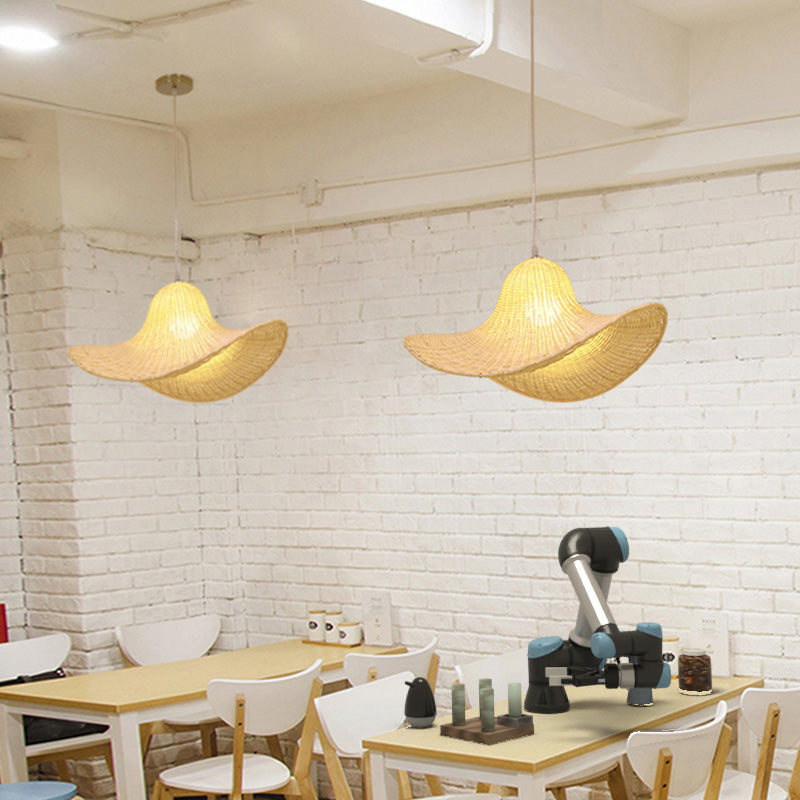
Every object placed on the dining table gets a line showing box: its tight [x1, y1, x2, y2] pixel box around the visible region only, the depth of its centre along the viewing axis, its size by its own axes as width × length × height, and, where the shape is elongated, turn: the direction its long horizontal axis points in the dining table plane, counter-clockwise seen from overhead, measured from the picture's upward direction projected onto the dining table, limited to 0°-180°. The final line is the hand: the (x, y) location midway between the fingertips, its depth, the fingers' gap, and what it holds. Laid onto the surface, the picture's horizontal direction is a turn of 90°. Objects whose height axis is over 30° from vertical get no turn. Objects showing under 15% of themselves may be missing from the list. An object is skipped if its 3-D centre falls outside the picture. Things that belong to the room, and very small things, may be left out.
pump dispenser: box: [403, 676, 438, 729], centre depth 369 cm, size 10×10×15 cm
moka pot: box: [615, 656, 654, 705], centre depth 396 cm, size 10×15×20 cm, turn 105°
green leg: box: [507, 682, 523, 719], centre depth 354 cm, size 4×4×12 cm
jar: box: [677, 647, 713, 692], centre depth 415 cm, size 12×12×15 cm
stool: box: [439, 677, 535, 746], centre depth 355 cm, size 20×20×15 cm
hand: (547, 676), depth 354 cm, fingers open, 13 cm apart
